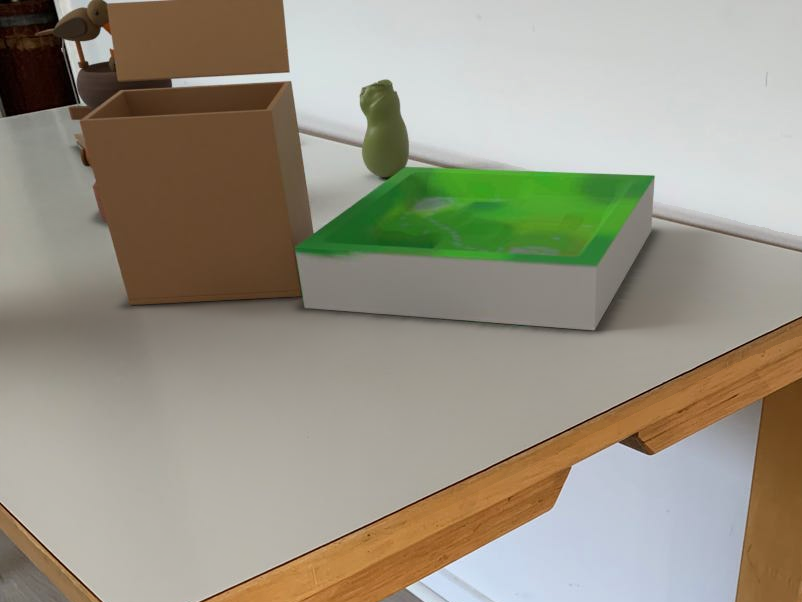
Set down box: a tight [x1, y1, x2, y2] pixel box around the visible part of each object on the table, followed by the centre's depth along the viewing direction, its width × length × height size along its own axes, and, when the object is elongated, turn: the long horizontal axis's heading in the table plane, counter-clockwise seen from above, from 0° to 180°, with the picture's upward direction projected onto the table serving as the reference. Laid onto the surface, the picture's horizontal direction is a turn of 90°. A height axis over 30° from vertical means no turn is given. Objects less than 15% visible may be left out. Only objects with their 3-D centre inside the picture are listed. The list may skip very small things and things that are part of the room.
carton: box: [79, 80, 315, 306], centre depth 85 cm, size 15×12×14 cm
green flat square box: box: [295, 166, 656, 331], centre depth 87 cm, size 25×25×5 cm
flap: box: [106, 0, 291, 82], centre depth 84 cm, size 15×6×1 cm
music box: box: [35, 0, 173, 223], centre depth 102 cm, size 15×11×20 cm
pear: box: [359, 78, 410, 178], centre depth 111 cm, size 6×5×10 cm
